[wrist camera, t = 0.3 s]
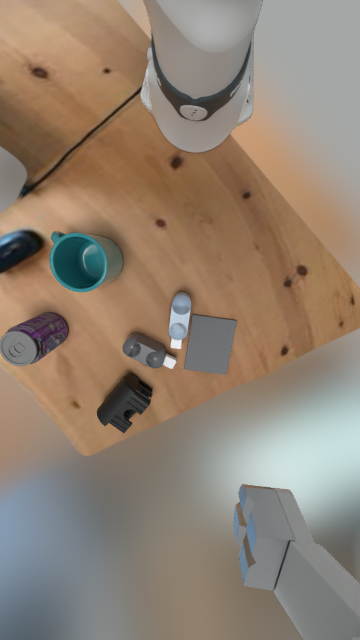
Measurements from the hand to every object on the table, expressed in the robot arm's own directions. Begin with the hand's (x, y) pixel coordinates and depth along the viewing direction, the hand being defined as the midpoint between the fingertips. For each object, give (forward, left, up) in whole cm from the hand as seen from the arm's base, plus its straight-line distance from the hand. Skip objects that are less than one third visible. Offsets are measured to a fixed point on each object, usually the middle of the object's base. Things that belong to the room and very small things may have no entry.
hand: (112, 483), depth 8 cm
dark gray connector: (+13, -3, -46) cm, 48 cm away
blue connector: (+6, +2, -46) cm, 46 cm away
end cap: (+25, -7, -46) cm, 53 cm away
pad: (+11, +9, -46) cm, 48 cm away
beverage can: (+12, -24, -46) cm, 53 cm away
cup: (-4, -16, -46) cm, 49 cm away
